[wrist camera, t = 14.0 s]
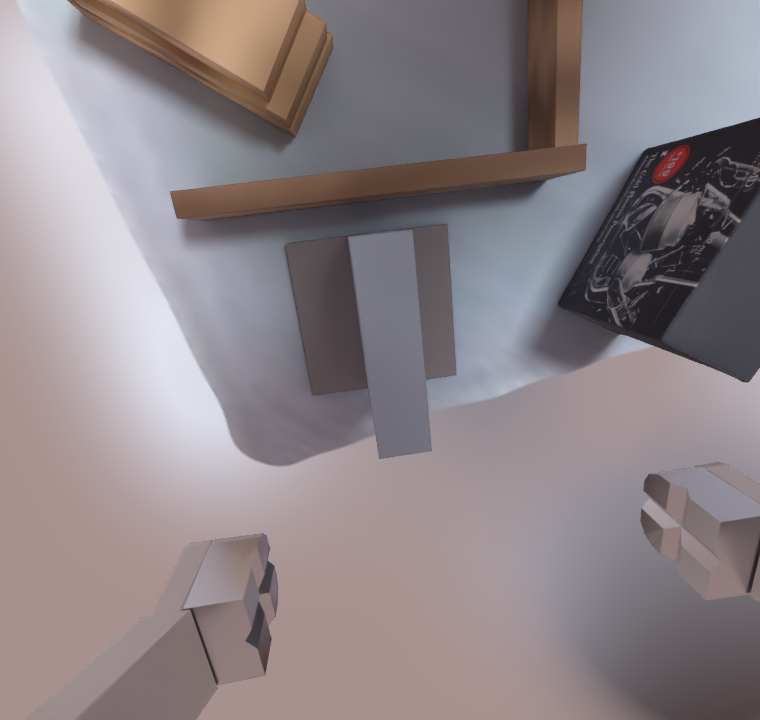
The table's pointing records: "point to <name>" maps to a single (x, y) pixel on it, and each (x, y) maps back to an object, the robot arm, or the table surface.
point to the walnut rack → (540, 162)
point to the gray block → (391, 339)
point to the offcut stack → (230, 47)
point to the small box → (683, 253)
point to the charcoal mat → (340, 315)
